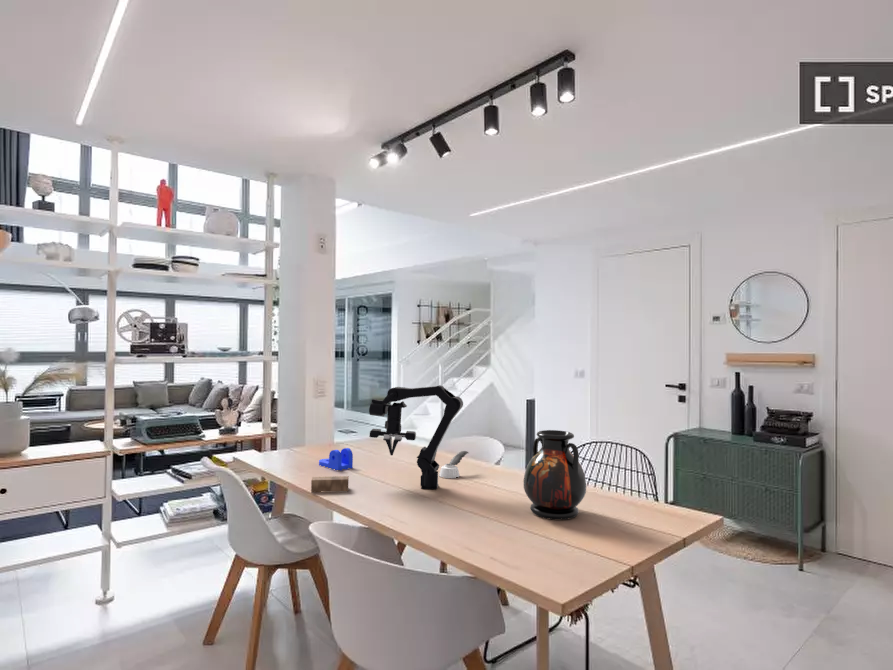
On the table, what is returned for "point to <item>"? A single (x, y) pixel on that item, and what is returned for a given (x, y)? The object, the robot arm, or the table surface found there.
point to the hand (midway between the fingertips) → (391, 455)
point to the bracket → (338, 459)
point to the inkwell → (452, 466)
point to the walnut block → (329, 483)
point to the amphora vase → (554, 476)
